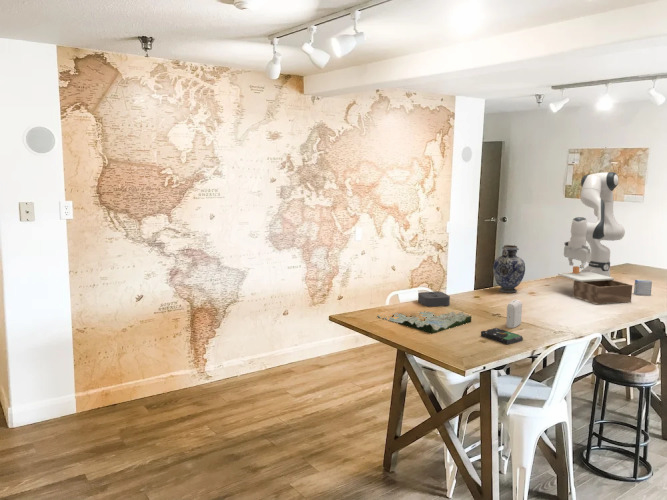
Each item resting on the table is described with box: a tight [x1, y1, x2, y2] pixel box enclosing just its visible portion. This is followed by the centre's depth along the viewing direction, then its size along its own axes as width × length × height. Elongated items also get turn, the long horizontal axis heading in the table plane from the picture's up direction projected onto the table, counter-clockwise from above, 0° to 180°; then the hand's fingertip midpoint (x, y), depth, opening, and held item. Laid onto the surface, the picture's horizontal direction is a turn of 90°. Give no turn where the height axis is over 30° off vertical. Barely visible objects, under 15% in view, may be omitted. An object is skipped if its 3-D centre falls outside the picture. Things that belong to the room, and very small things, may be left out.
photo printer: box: [506, 299, 523, 329], centre depth 250 cm, size 10×4×12 cm, turn 140°
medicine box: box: [633, 279, 653, 296], centre depth 313 cm, size 8×4×9 cm, turn 84°
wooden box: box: [572, 279, 633, 306], centre depth 301 cm, size 20×22×10 cm
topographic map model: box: [376, 310, 472, 335], centre depth 261 cm, size 36×29×5 cm
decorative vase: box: [492, 244, 526, 294], centre depth 321 cm, size 21×19×28 cm
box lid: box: [557, 265, 615, 282], centre depth 313 cm, size 20×22×5 cm
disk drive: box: [480, 327, 524, 346], centre depth 232 cm, size 10×3×15 cm
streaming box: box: [417, 291, 451, 308], centre depth 293 cm, size 14×14×5 cm
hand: (576, 266), depth 322 cm, fingers open, 8 cm apart
